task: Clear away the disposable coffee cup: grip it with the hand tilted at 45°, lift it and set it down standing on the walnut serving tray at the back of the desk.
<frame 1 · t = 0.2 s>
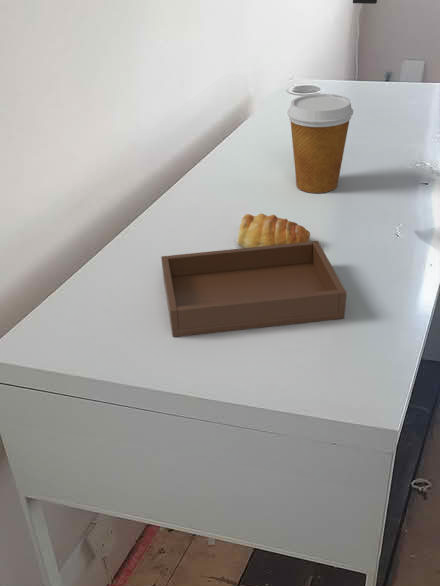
disposable coffee cup: (316, 186, 111), on the table
serving tray: (249, 298, 86), on the table
pastry: (269, 246, 96), on the table
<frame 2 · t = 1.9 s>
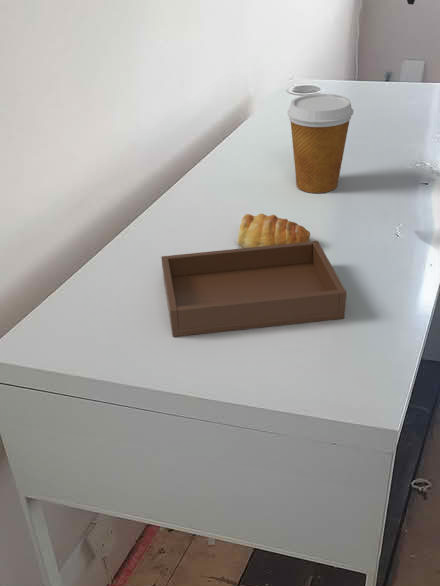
nothing on the table moved.
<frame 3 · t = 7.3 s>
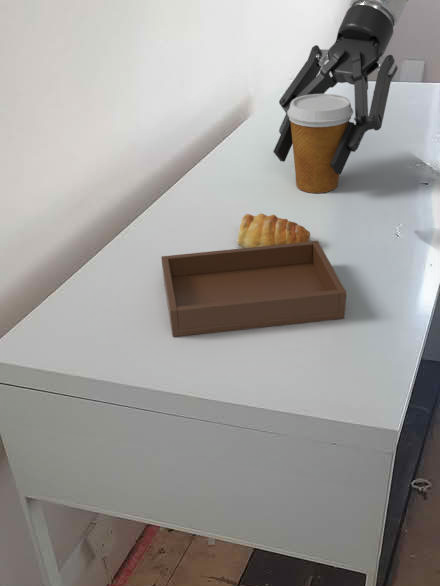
hand: (306, 163, 107), 4 cm above the table, tool tilted 45°, fingers closed on disposable coffee cup, 9 cm apart
disposable coffee cup: (316, 186, 111), on the table, touching gripper
everything else where it was.
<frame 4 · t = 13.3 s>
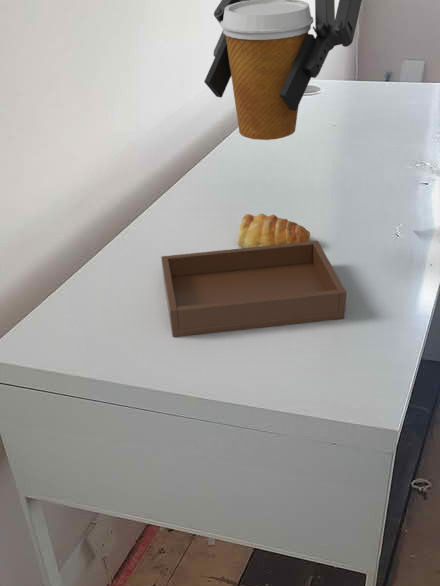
hand: (249, 96, 76), 21 cm above the table, tool tilted 45°, fingers closed on disposable coffee cup, 9 cm apart
disposable coffee cup: (267, 133, 81), point 16 cm above the table, touching gripper
everything else where it was.
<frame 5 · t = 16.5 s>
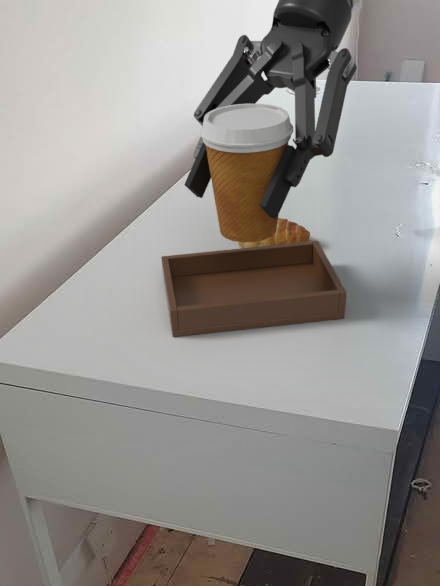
hand: (229, 201, 75), 13 cm above the table, tool tilted 45°, fingers closed on disposable coffee cup, 9 cm apart
disposable coffee cup: (248, 232, 80), point 8 cm above the table, touching gripper
everything else where it was.
when the fingers open (5 cm above the table, at t = 19.1 s): disposable coffee cup stays where it is, resting on serving tray.
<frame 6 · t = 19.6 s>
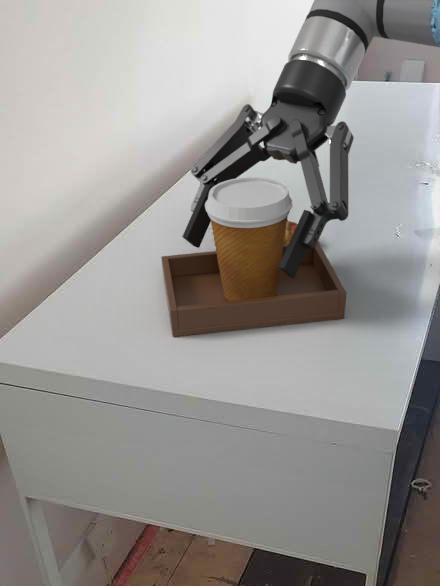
hand: (236, 257, 80), 6 cm above the table, tool tilted 45°, fingers open, 13 cm apart
disposable coffee cup: (250, 294, 85), point 1 cm above the table, touching serving tray
everything else where it was.
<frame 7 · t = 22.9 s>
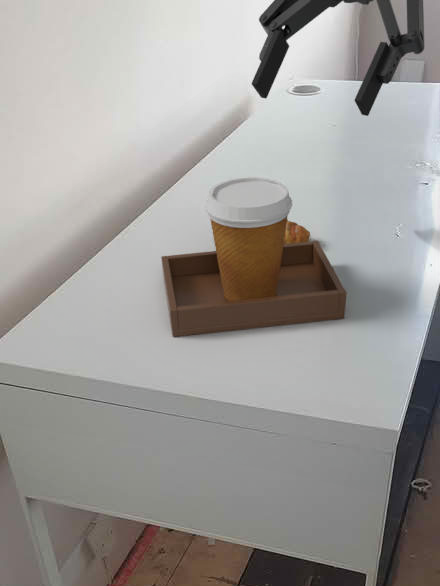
hand: (307, 99, 80), 19 cm above the table, tool tilted 45°, fingers open, 13 cm apart
nothing on the table moved.
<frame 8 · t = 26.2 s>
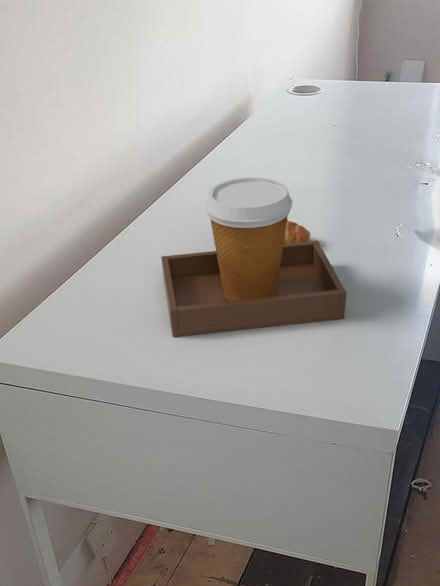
nothing on the table moved.
at the end: disposable coffee cup inside the target area in the serving tray (0.1 cm from its centre), point 0.6 cm above the serving tray's base; disposable coffee cup tilted 0°; the gripper is holding nothing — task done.
